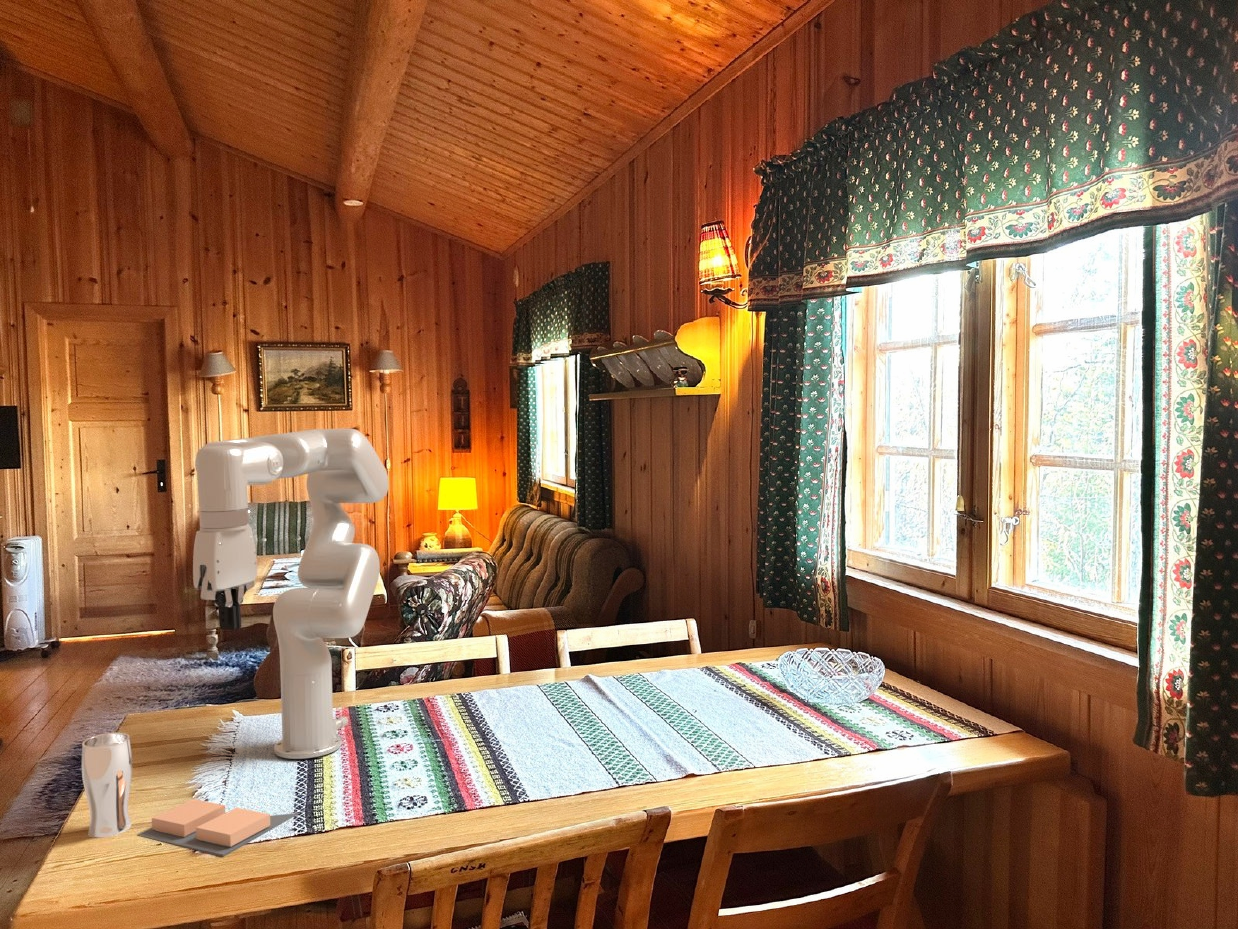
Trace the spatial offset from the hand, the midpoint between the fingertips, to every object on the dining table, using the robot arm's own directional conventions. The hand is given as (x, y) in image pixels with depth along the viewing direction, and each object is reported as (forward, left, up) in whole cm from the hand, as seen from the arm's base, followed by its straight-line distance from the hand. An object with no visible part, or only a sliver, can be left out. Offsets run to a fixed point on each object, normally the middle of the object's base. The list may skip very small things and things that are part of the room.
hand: (230, 628), depth 155 cm
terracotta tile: (+6, 0, -28) cm, 29 cm away
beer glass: (+15, -11, -30) cm, 36 cm away
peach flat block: (+6, +9, -28) cm, 31 cm away
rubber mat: (+6, +4, -30) cm, 31 cm away
